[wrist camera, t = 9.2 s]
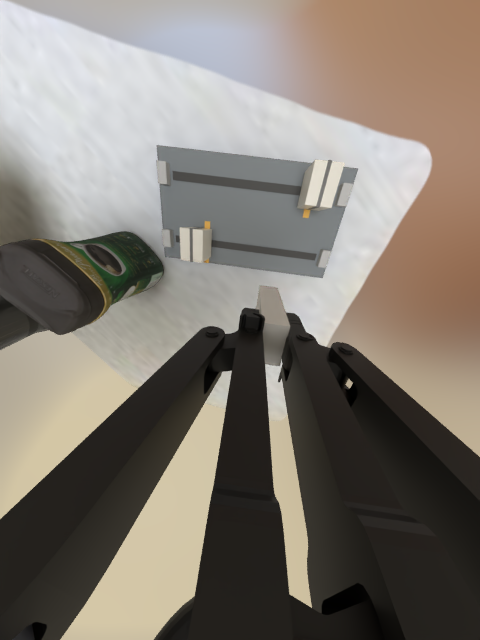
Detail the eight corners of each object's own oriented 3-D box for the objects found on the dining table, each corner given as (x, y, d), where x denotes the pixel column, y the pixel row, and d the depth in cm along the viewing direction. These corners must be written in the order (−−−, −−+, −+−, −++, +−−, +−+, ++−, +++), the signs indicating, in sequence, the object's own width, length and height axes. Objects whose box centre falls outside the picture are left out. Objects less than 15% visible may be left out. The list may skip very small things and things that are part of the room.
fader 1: (192, 254, 30) (180, 260, 25) (192, 226, 28) (179, 226, 23) (210, 257, 29) (202, 263, 25) (211, 228, 28) (202, 229, 23)
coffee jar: (104, 254, 33) (-45, 283, 17) (129, 223, 31) (-23, 221, 14) (146, 294, 36) (53, 352, 20) (172, 269, 33) (88, 312, 17)
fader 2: (296, 208, 25) (304, 205, 21) (305, 171, 23) (315, 158, 19) (318, 211, 25) (331, 208, 21) (328, 173, 23) (345, 162, 19)
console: (170, 254, 32) (161, 257, 29) (163, 150, 26) (151, 141, 23) (318, 275, 31) (324, 280, 29) (351, 172, 25) (363, 165, 22)
